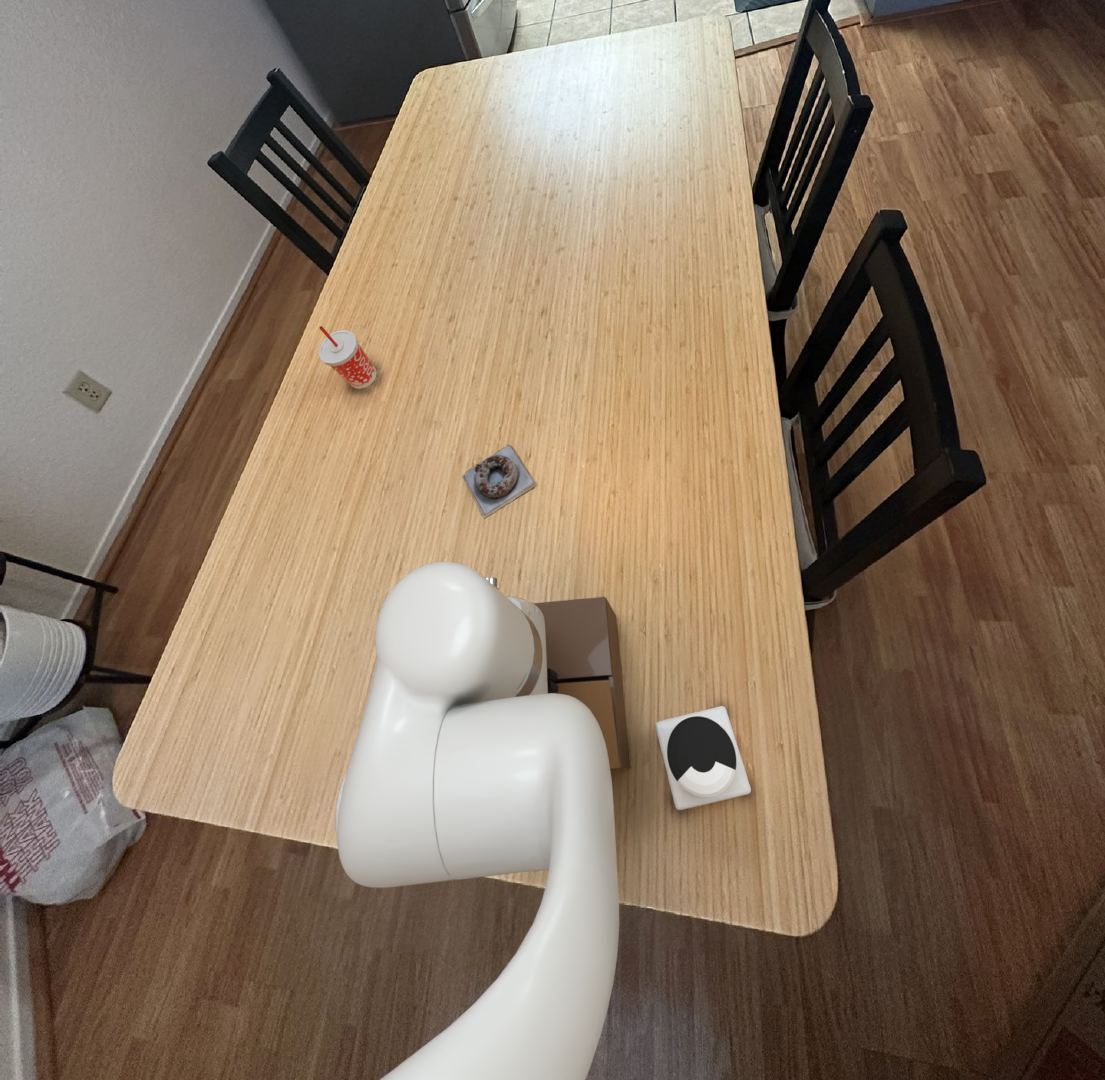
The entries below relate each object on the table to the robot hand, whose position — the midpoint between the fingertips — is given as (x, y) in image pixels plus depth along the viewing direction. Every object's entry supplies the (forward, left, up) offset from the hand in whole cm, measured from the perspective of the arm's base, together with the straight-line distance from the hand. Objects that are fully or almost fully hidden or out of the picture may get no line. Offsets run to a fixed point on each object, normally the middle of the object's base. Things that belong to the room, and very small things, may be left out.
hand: (542, 684), depth 59 cm
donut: (+27, +8, -13) cm, 31 cm away
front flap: (-3, 0, -2) cm, 4 cm away
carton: (+1, 0, -13) cm, 13 cm away
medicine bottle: (-6, -14, -13) cm, 20 cm away
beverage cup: (+48, +31, -13) cm, 58 cm away
